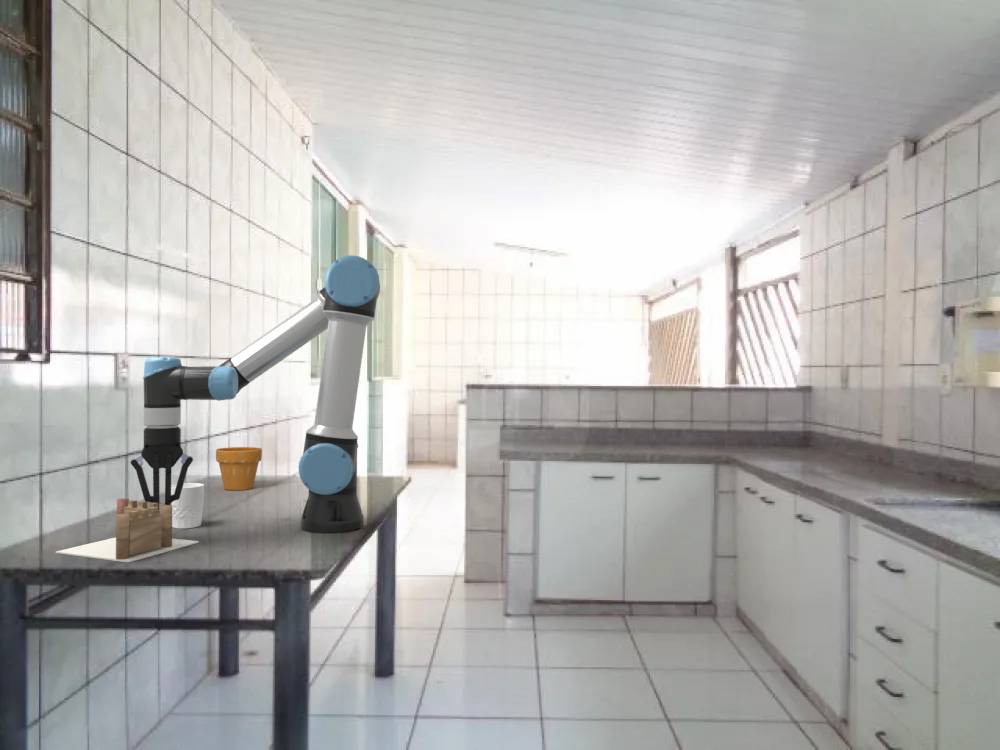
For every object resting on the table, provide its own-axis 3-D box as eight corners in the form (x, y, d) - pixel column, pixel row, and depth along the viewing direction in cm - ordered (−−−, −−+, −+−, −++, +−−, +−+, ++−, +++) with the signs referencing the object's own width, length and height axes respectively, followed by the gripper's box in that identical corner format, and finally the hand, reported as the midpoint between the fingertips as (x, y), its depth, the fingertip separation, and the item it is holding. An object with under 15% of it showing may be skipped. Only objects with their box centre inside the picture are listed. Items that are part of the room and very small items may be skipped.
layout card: (199, 542, 164) (199, 540, 164) (128, 562, 147) (128, 560, 147) (130, 535, 171) (130, 533, 171) (55, 553, 154) (55, 551, 154)
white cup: (191, 530, 178) (191, 488, 178) (161, 528, 179) (162, 487, 179) (210, 523, 186) (210, 483, 186) (182, 522, 187) (182, 482, 187)
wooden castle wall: (174, 547, 160) (174, 504, 160) (121, 561, 147) (122, 515, 147) (165, 546, 161) (166, 503, 161) (112, 560, 148) (113, 514, 148)
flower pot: (228, 484, 251) (228, 446, 251) (268, 486, 249) (268, 447, 249) (207, 491, 237) (207, 450, 237) (250, 492, 235) (250, 451, 235)
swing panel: (124, 535, 168) (124, 498, 168) (164, 542, 161) (164, 503, 161) (114, 537, 165) (114, 499, 165) (154, 544, 159) (155, 504, 159)
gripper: (192, 424, 171) (192, 526, 171) (131, 426, 166) (130, 531, 166) (193, 427, 164) (193, 533, 165) (129, 428, 159) (129, 538, 159)
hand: (162, 532), depth 165 cm, fingers closed
